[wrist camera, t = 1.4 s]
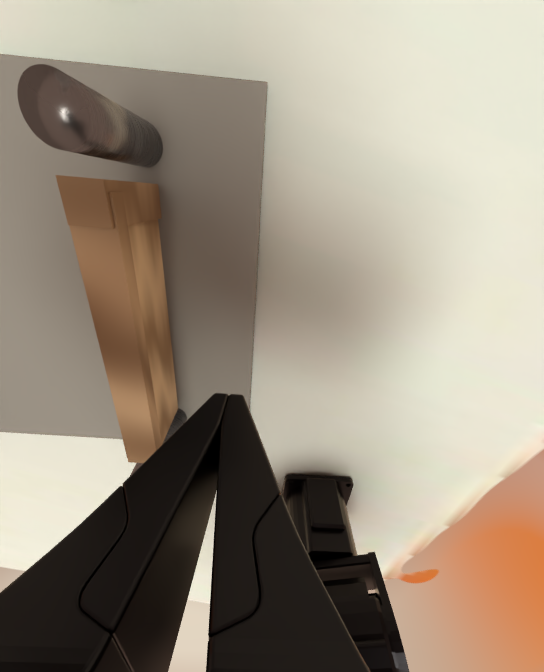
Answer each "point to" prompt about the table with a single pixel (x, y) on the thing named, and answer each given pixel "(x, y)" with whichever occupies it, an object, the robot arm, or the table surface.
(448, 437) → the table surface
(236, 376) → the mat
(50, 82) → the gate posts
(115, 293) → the gate
